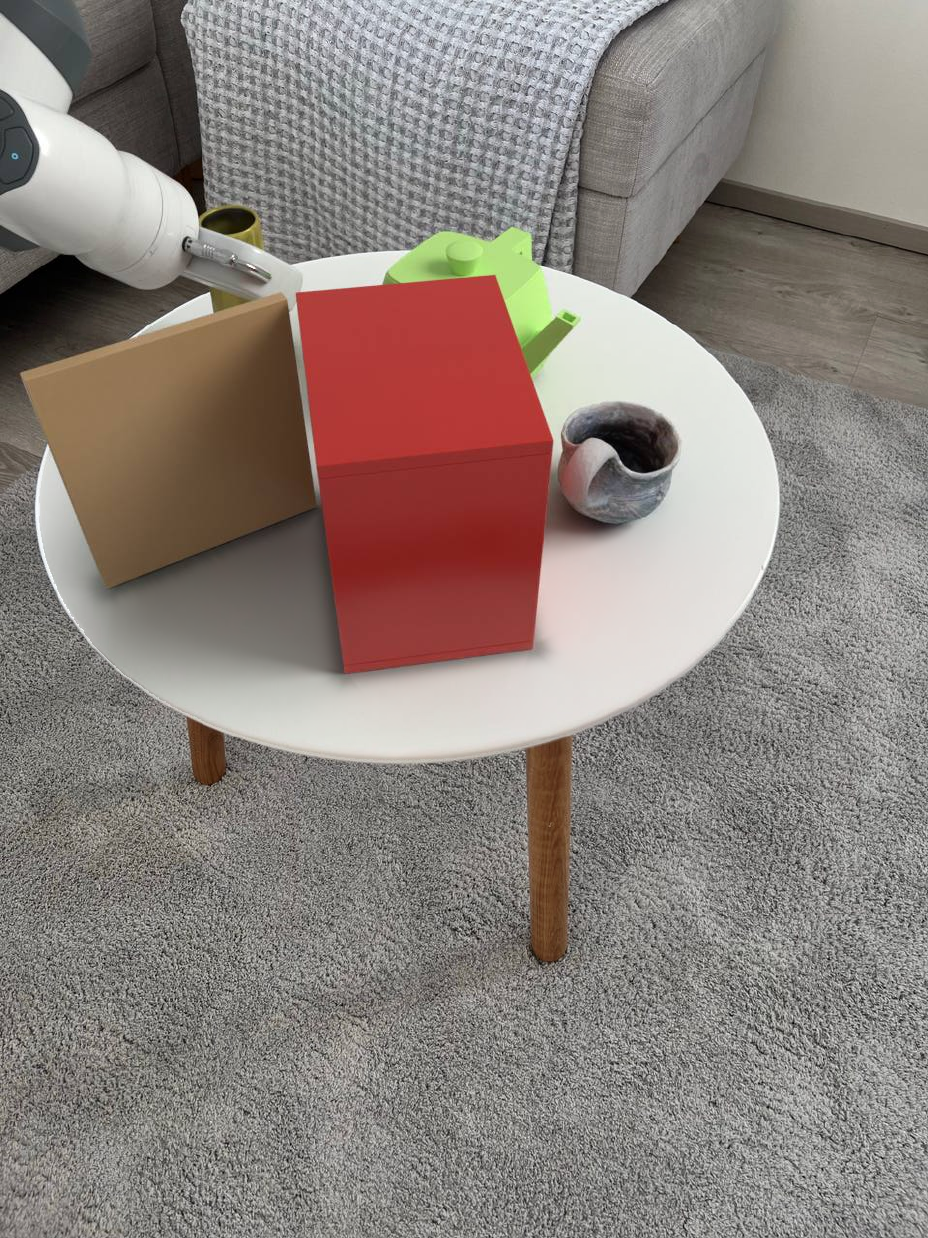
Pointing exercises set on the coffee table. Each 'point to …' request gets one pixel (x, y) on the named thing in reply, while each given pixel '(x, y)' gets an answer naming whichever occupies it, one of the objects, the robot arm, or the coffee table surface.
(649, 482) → the mug
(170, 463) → the door
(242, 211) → the vase
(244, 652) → the coffee table surface
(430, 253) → the teapot
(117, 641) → the coffee table surface
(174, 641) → the coffee table surface
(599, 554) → the coffee table surface
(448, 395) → the cabinet
